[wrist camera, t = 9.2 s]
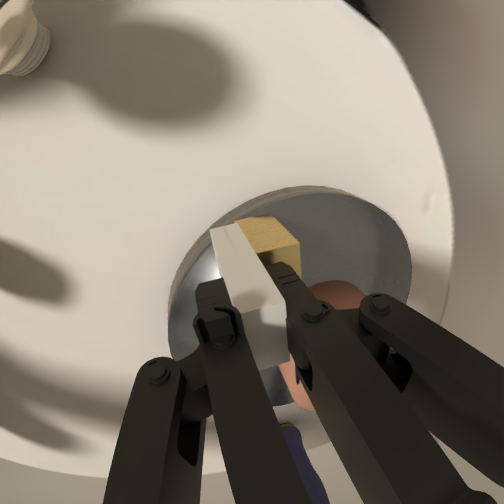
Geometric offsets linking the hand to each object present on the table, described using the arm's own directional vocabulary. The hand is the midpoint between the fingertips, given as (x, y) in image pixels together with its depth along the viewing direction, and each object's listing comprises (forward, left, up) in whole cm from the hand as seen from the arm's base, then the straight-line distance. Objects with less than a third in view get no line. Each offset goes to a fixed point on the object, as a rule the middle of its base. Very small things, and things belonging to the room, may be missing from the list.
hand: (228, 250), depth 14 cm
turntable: (+5, -8, -4) cm, 11 cm away
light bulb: (-9, +15, -4) cm, 18 cm away
